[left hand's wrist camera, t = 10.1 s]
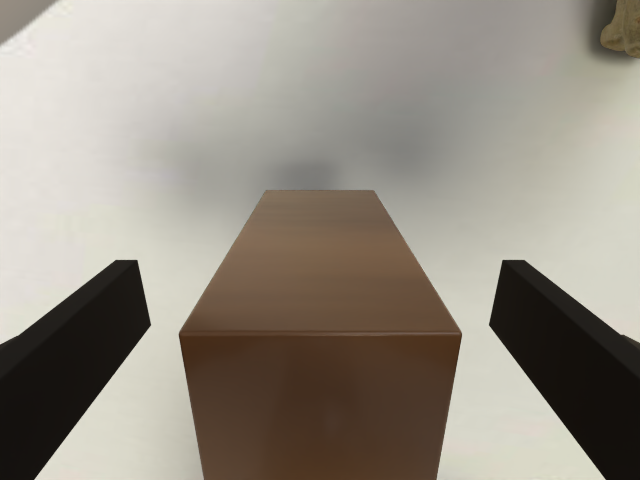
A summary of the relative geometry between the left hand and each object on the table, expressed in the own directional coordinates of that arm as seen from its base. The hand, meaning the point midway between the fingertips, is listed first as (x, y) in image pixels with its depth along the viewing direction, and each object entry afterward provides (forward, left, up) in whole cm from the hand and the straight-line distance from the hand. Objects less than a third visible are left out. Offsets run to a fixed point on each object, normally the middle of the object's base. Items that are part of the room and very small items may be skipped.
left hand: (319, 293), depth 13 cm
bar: (+5, +9, -3) cm, 11 cm away
